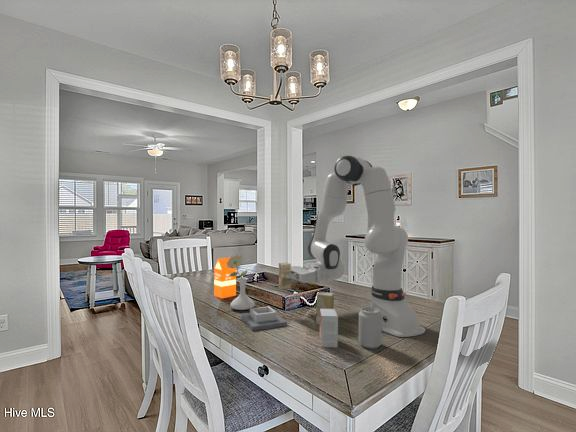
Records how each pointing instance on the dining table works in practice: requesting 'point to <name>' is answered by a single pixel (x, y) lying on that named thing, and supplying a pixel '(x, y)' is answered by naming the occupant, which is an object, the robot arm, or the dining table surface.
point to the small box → (328, 328)
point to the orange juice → (224, 279)
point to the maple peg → (284, 282)
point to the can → (370, 327)
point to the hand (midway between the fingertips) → (282, 274)
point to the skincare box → (324, 303)
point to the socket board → (263, 318)
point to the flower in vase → (242, 300)
